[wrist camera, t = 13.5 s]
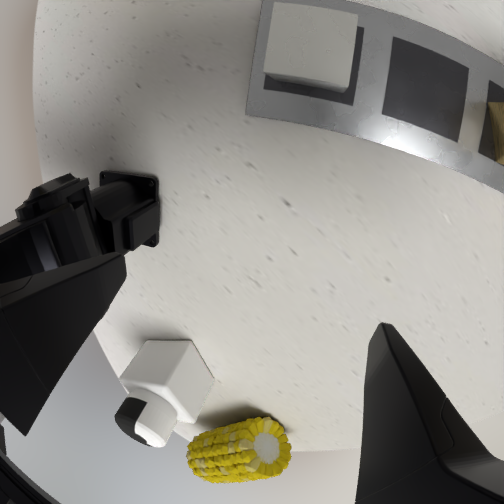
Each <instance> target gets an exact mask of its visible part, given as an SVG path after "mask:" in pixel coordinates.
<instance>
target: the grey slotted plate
mask: <svg viewBox="0 0 504 504" xmlns="http://www.w3.org/2000/svg"><path fill="white" fill-rule="evenodd" d="M274 2H281V3H292V4H301V5H309V6H316V7H322V8H328V9H333V10H338V11H343V12H348V13H352V14H357V15H358V22H357V30H356V39H355V46H354V54H353V61H352V67H351V74H350V80H349V87H348V88H347V89H346V91H345V92H344V93H341V92H337V91H333V90H328V89H323V88H318V87H313V86H308V85H302V84H296V83H290V82H283V81H276V80H274V79H273V78H272V77H270V76H269V75H267V74H266V73H264V72H263V69H264V63H265V56H266V50H267V43H268V37H269V31H270V25H271V18H272V12H273V6H274ZM488 102H502V103H504V66H503V65H501V64H500V63H498V62H497V61H495V60H494V59H492V58H490V57H489V56H487V55H485V54H484V53H482V52H480V51H478V50H477V49H475V48H473V47H471V46H469V45H468V44H466V43H464V42H462V41H460V40H458V39H456V38H454V37H452V36H450V35H447V34H445V33H443V32H441V31H439V30H436V29H434V28H432V27H429V26H427V25H424V24H422V23H419V22H417V21H414V20H411V19H409V18H406V17H403V16H400V15H397V14H394V13H391V12H388V11H384V10H381V9H378V8H374V7H370V6H366V5H362V4H358V3H354V2H350V1H345V0H263V3H262V8H261V14H260V20H259V26H258V33H257V39H256V45H255V52H254V58H253V65H252V71H251V78H250V85H249V92H248V99H247V106H246V113H245V115H249V116H256V117H263V118H270V119H276V120H282V121H288V122H293V123H298V124H304V125H309V126H313V127H318V128H323V129H327V130H331V131H335V132H340V133H344V134H348V135H351V136H355V137H359V138H363V139H366V140H370V141H373V142H377V143H380V144H383V145H386V146H390V147H393V148H396V149H399V150H402V151H405V152H408V153H411V154H414V155H416V156H419V157H422V158H425V159H427V160H430V161H433V162H435V163H438V164H440V165H443V166H445V167H448V168H450V169H453V170H455V171H457V172H460V173H462V174H464V175H467V176H469V177H471V178H473V179H475V180H477V181H480V182H482V183H484V184H486V185H488V186H490V187H492V188H494V189H496V190H498V191H500V192H502V193H504V165H503V164H500V163H498V162H496V157H495V147H494V138H493V131H492V124H491V118H490V112H489V107H488Z"/></svg>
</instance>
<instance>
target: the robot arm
mask: <svg viewBox="0 0 504 504" xmlns="http://www.w3.org/2000/svg"><path fill="white" fill-rule="evenodd" d="M104 175H105V177H104ZM151 181H152V182H153V185H152V184H151ZM88 185H89V180H88V178H84V179H81V180H80V178H75V177H74V176H73V175H72V174H71V173H69V174H66V175H63V176H61V177H58V178H56V179H53V180H51V181H49V182H46V183H44V184H42V185H40V186H38V187H36V188H34V189H32V191H31V193H30V196H29V198H28V199H27V200H26V201H24V202H23V204H22V205H21V206H19V207H18V208H17V209H15V211H16V215H17V218H16V219H14V220H12V221H11V222H9V223H7V224H5V225H3V226H1V227H0V423H1V422H2V421H3V419H4V418H5V417H6V418H7V420H9V422H11V423H12V425H14V426H15V427H16V428H17V429H18V430H19V431H20V432H21V433H22V434H23V435H24V436H26V435H27V434H28V432H29V430H30V428H31V427H32V425H33V423H34V421H35V420H36V418H37V416H38V414H39V412H40V410H41V409H42V407H43V406H44V404H45V402H46V401H47V399H48V397H49V396H50V394H51V392H52V390H53V389H54V387H55V386H56V384H57V382H58V381H59V379H60V378H61V376H62V375H63V373H64V371H65V370H66V368H67V367H68V365H69V363H70V362H71V361H72V359H73V358H74V356H75V355H76V353H77V352H78V350H79V349H80V347H81V346H82V344H83V343H84V342H85V340H86V339H87V337H88V336H89V334H90V333H91V332H92V330H93V329H94V327H95V326H96V325H97V323H98V322H99V321H100V320H101V319H102V318H103V316H104V315H105V313H106V312H107V311H108V309H109V306H110V304H111V303H112V301H113V299H114V298H115V296H116V294H117V293H118V291H119V289H120V288H121V286H122V284H123V283H124V281H125V279H126V276H127V272H126V263H125V257H124V255H125V254H126V253H128V252H129V251H134V250H135V249H136V248H138V247H139V246H140V245H141V244H142V245H146V246H149V247H155V246H157V245H158V242H159V238H158V231H159V203H158V180H157V178H156V177H152V176H145V175H138V174H131V173H123V172H116V171H108V170H104V171H102V172H101V173H100V187H98V188H96V189H94V190H92V191H90V190H89V186H88ZM152 240H153V241H154V243H153V242H152ZM355 501H356V502H355V504H504V461H503V460H500V459H498V458H496V457H494V456H493V455H492V454H491V453H490V452H489V451H488V450H487V449H486V447H485V446H484V445H483V444H482V442H481V441H480V440H479V438H478V437H477V436H476V435H475V433H474V432H473V431H472V430H471V429H470V427H469V426H468V425H467V423H466V422H465V421H464V419H463V418H462V417H461V416H460V414H459V413H458V411H457V410H456V409H455V407H454V406H453V405H452V403H451V402H450V400H449V399H448V398H447V397H446V395H445V393H444V392H443V390H442V389H441V388H440V386H439V385H438V384H437V382H436V381H435V379H434V378H433V377H432V375H431V374H430V373H429V371H428V370H427V369H426V367H425V366H424V365H423V363H422V362H421V361H420V359H419V358H418V357H417V355H416V354H415V353H414V352H413V350H412V349H411V348H410V346H409V345H408V344H407V343H406V341H405V340H404V339H403V337H402V336H401V335H400V334H399V332H398V331H397V330H396V329H395V327H394V326H393V325H392V324H388V323H383V322H382V323H380V324H379V325H378V327H377V329H376V330H375V332H374V334H373V336H372V338H371V340H370V342H369V346H368V357H367V366H366V375H365V384H364V411H363V431H362V446H361V458H360V468H359V477H358V485H357V492H356V499H355ZM0 504H60V503H59V502H58V501H57V500H55V499H54V498H53V497H51V496H50V495H49V494H48V493H46V492H45V491H44V490H43V489H41V488H40V487H39V486H38V485H37V484H36V483H34V482H33V481H32V480H31V479H30V478H29V477H28V476H27V475H25V474H24V473H23V472H22V471H21V470H20V469H19V468H18V467H17V466H16V465H15V464H14V463H13V462H12V461H10V459H9V458H8V457H7V456H6V446H5V436H4V427H3V426H2V425H1V424H0Z"/></svg>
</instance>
